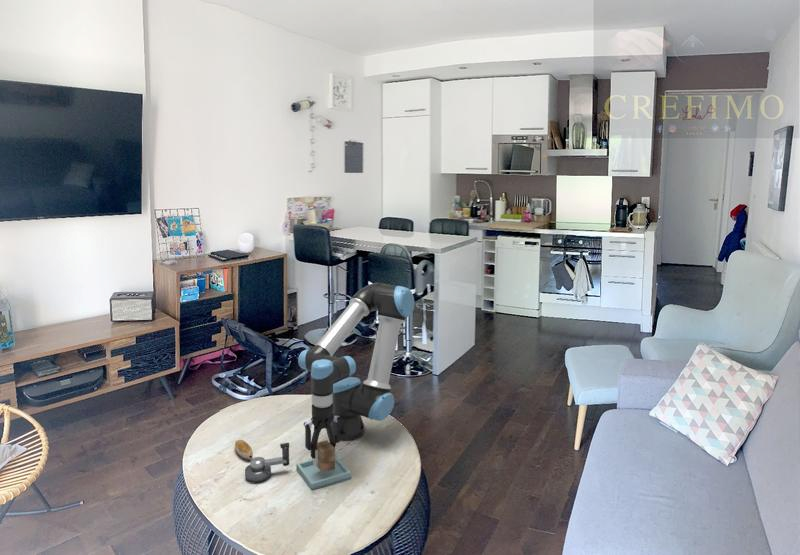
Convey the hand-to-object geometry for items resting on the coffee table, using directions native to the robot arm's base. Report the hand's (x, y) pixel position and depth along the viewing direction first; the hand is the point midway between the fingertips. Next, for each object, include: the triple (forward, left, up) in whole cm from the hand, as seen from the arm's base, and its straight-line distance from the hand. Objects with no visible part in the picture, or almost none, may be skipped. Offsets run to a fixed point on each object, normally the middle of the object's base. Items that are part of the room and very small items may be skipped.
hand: (322, 463), depth 203 cm
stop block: (0, +1, 0) cm, 2 cm away
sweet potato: (+21, -28, -5) cm, 35 cm away
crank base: (+21, -10, -4) cm, 24 cm away
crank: (+17, -9, -1) cm, 19 cm away
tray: (0, 0, -4) cm, 4 cm away
